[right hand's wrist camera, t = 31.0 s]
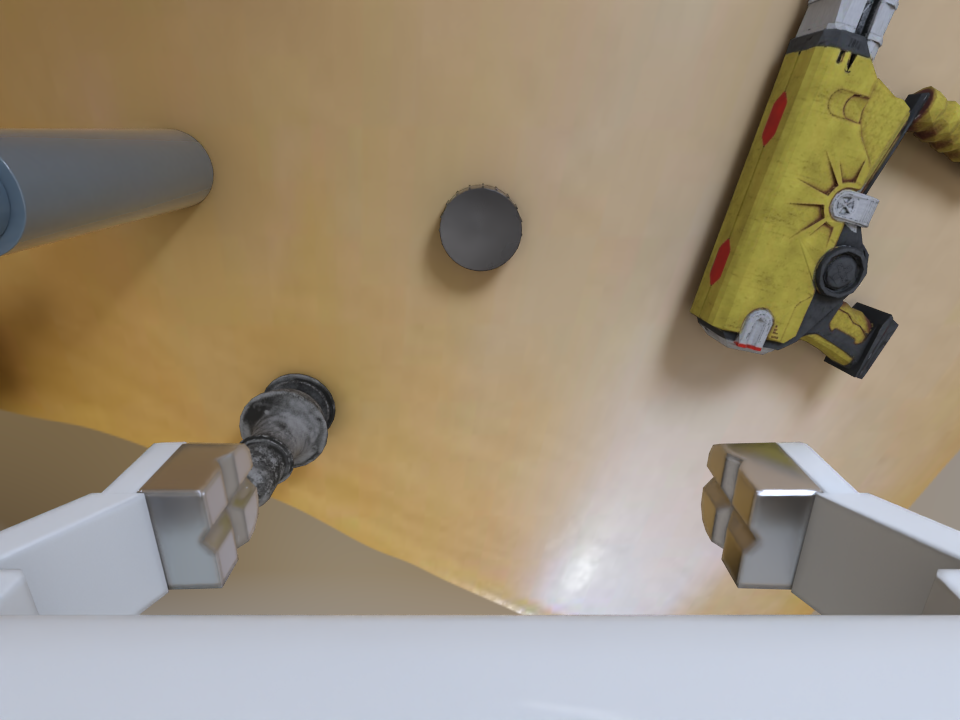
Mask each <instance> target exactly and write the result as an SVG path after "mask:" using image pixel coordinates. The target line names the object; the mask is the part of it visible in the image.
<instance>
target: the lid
mask: <svg viewBox="0 0 960 720" xmlns="http://www.w3.org/2000/svg"><path fill="white" fill-rule="evenodd" d="M446 205H447V206H446V208H445V210H444V212H442V214H441V217H440V218H441V222H440V229H439V231H440V237H441V241H442V245H443V247H444V249H445V251H446V252H447V254H448V255H449V256H450V257H451V258H452V260H454V261H455V262H456V263H457V264H459V265H460V266H462V267H464V268H467V269H470V270H475V271H487V270H492V269H495V268H497V267H499V266H501V265H503V264H504V263H506V262H507V261H508V260H509V259H510V258H511V257H512V256H513V254H514V253H515V252H516V250H517V249H518V246H519V243H520V240H521V236H522V225H521V222H522V220H521V217H520V216H519V213H518V211H517V209H518V208H517V206H516V204H515V205H514V203H513V202H512V200H511V199H510V198H509V195H508V194H505V193H504V192H502V191H501V190H499V189H497V187H496V186H495V187H492V186H488V185H484V184H482V185H474V186H471V185H469V187H467V188H465V189H463V190H461V191H457V192H456V194H455V195H454V196H453V197H452V198H451V200H450V201H449V200H448V202H447V204H446Z"/></svg>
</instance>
